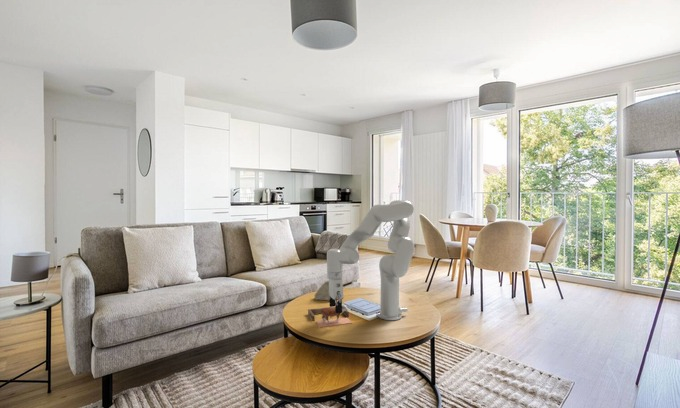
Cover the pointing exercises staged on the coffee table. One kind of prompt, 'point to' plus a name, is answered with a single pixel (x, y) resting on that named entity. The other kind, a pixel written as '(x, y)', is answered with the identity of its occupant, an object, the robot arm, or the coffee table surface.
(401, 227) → the robot arm
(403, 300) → the coffee table surface
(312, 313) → the stall
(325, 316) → the bull figurine
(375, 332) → the coffee table surface
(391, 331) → the coffee table surface
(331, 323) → the mat
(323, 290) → the fossil tooth
